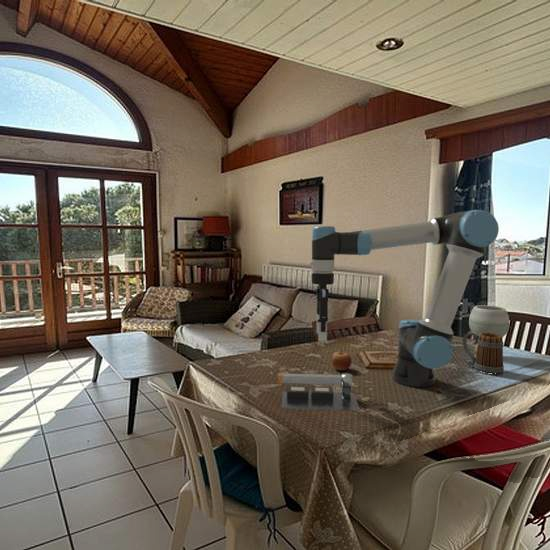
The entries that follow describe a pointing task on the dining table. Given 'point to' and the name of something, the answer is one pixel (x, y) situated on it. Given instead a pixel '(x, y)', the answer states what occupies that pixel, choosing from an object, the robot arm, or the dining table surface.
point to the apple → (341, 360)
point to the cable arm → (316, 379)
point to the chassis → (324, 402)
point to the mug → (486, 352)
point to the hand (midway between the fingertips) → (321, 336)
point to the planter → (489, 320)
